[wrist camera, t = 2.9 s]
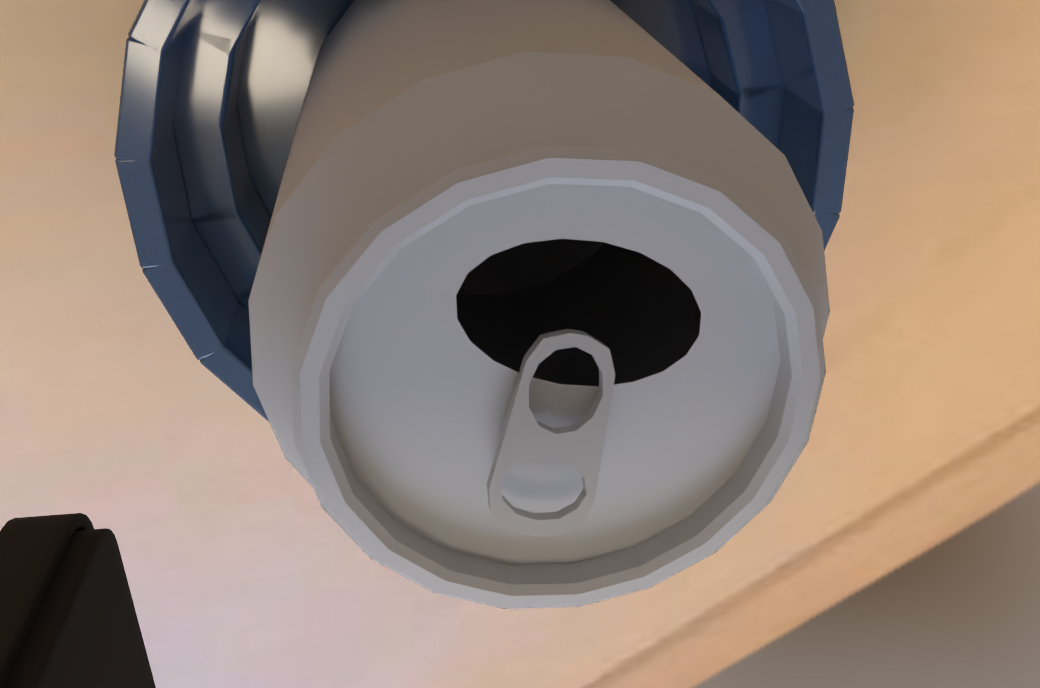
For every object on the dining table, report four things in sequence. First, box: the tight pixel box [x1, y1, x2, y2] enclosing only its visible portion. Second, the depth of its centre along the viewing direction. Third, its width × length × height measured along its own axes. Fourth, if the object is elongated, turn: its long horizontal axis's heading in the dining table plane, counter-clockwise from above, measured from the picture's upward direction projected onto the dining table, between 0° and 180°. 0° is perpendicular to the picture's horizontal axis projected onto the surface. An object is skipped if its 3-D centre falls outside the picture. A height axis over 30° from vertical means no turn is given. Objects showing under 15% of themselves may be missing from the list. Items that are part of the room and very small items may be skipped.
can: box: [248, 0, 830, 609], centre depth 17 cm, size 8×8×12 cm
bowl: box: [114, 0, 854, 421], centre depth 20 cm, size 13×13×4 cm
